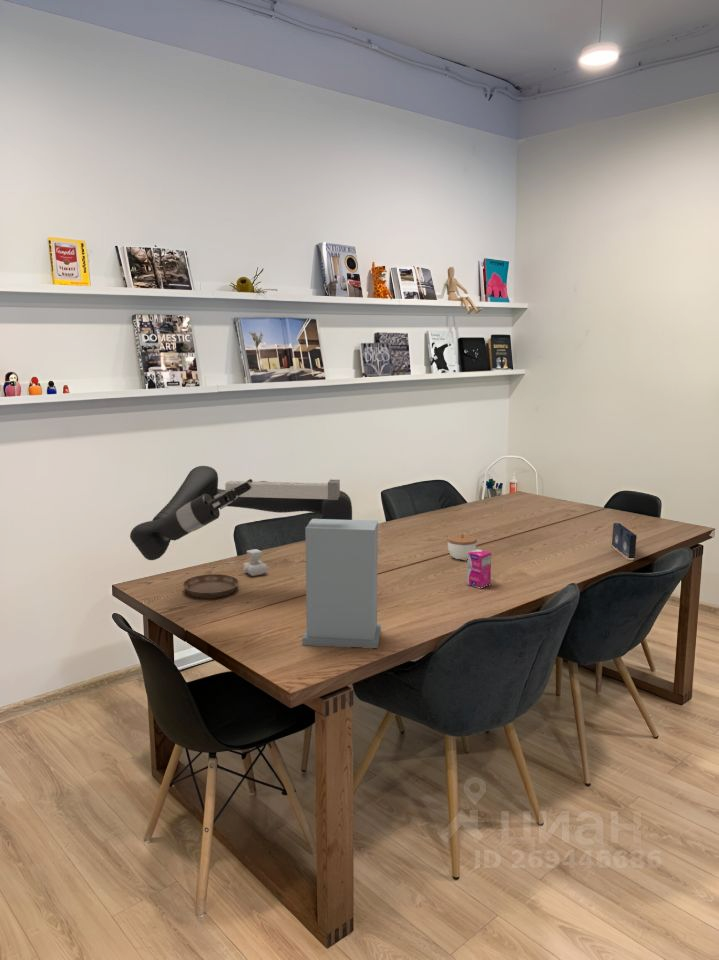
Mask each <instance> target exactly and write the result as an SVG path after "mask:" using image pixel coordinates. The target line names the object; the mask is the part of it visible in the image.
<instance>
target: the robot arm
mask: <svg viewBox="0 0 719 960" xmlns="http://www.w3.org/2000/svg"><path fill="white" fill-rule="evenodd" d="M247 481H248V482H254V481H253V479H251V478H249V479H247ZM248 482H245V483H243V484H242V485H240V486H238V487H236V488H234V489H231V490H230V491H225V489H221V488H219V475H218V472H217V471H216V469H214V467H212V466H208V465H199V466H196V467H194V468H193V469H191V470H190V471H189V472H188V473H187V475H186V477H185V479H184V481H183V482H182V484H181V485H180V487H179V488H178V489H177V491H176V493H175V494H174V495H173V496H172V498H171V499H170V500H169V501H168V503H166V504H165V506H164V507H163V508H162V509H161V510H160V511H159V512H158V513H156V515H155V516H154V517H153V519H152V520H148V521H145V522H142V523H139V524H137V525H135V526H134V527H132V529H131V531H130V534H129V537H130V540H131V542H132V544H134V546H135V547H136V548H137V550H138V551H139V553H140V554H141V555H142V556H143V557H144V558H145V559H146V560H147V561H156V560H158V559H160V558H162V556H163V555H164V554H165V553H166V552H167V550H168V548H169V545H170V543H171V541H178V540H179V539H181V538H183V537H185V536H187V535H188V534H190V533H192V532H195V531H197V530H199V529H201V528H203V527H204V526H207V525H209V524H211V523H212V522H214V521H215V520H217V519H219V517H220V516H221V515H220V514H221V513H220V510H222V509H224V508H225V507H231V508H232V507H233V508H242V509H250V510H256V511H262V512H263V511H264V512H268V513H271V512H272V513H277V514H278V513H281V514H282V513H286V514H287V513H296V512H309V513H310V512H311V513H316V514H320V515H321V519H336V520H353V506H352V500H351V498H350V496H349V495H348V494H347V493H346V492H345V491H342V490H340V497H339V498H338V500H328V499H301V498H265V497H239V495H241V494H243V493H245V492H247V491H248V490H250V489H251V487H250V485H249V483H248ZM258 482H268V481H267V480H261V481H259V480H258ZM235 489H236V490H235ZM238 494H239V495H238Z"/></svg>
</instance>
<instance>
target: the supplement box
mask: <svg viewBox="0 0 719 960" xmlns="http://www.w3.org/2000/svg"><path fill="white" fill-rule="evenodd" d="M466 564H467V566H466V567H467V569H466V573H467V574H466V585H467V584H469V585H472V586H471V587H473V586H477V587H480V588H481V587H484V586H486V585H489V584H490V585H491V574H492V552H490V551H486V550H482V549H480V548H479V549H478V548H476V549H475V550H474V551H471V552H468V560H467V563H466ZM469 585H468V586H469ZM484 588H485V587H484Z"/></svg>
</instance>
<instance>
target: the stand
mask: <svg viewBox="0 0 719 960" xmlns="http://www.w3.org/2000/svg"><path fill="white" fill-rule="evenodd" d="M378 526H379V521H378V520H365V519H362V520H361V519H352V520H336V519H322V518H311V520H310V521H309V522H308V524H307V525H306V527H305V528H304V529H305V583H306V584H305V595H306V596H305V600H306V604H305V605H306V608H305V610H306V614H305V615H306V630H305V632H304V634H303V636H302V638H301V639H302V640H301V641H302V646H310V647H311V646H312V647H313V646H315V647H331V646H334V647H333V648H337V647H338V648H351V647H362V648H361V649H372V648H377V649H378V648H379V647H378V646H379V641H380V638H379V637H381V632H382V624H380V623H379V624H378V563H379V562H378V559H379V557H378V545H379V541H378V539H379V538H378V537H379V536H378V535H379V527H378Z"/></svg>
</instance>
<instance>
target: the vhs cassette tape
mask: <svg viewBox="0 0 719 960" xmlns="http://www.w3.org/2000/svg"><path fill="white" fill-rule="evenodd" d="M612 525H613V526H612V527H613V528H612V537H611V546H612V545H613V546H614V547H615V548H617V549H618V550H619V551H620V552H622V553H623V554H624V555H625V556H627V557H628V558H636V549H637V537H638V536H637V534H635V533H634V532H633V531H631V530H630V529H628V528H627V527H625V525H622V523H620V522H614V523H613V524H612Z"/></svg>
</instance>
